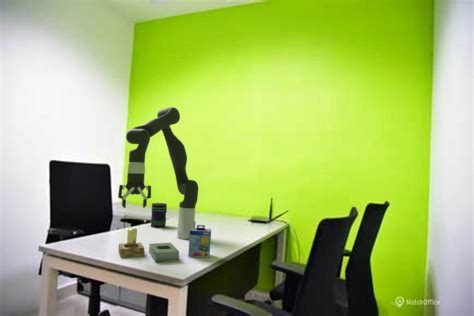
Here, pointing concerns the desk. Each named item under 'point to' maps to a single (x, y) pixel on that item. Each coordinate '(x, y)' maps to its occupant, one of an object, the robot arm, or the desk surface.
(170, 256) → the block with square hole
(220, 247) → the desk surface
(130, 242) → the axle
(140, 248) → the socket block
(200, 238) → the ink cartridge box
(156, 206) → the storage jar
